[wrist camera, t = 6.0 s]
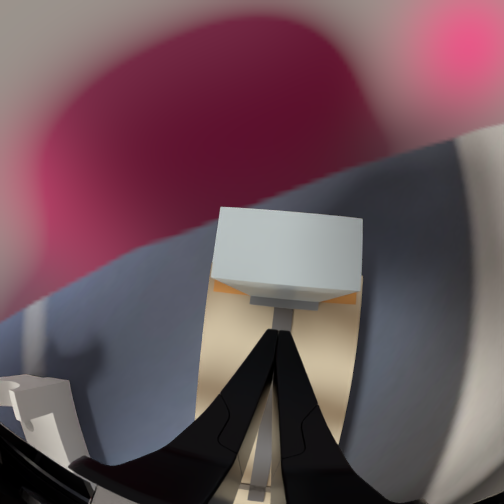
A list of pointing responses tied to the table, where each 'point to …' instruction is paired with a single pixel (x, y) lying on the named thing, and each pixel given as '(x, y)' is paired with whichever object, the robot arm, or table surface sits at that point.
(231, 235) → the fader tab
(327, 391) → the slider board
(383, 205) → the table surface
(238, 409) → the robot arm
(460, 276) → the table surface
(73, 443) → the bracket
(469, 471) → the table surface
